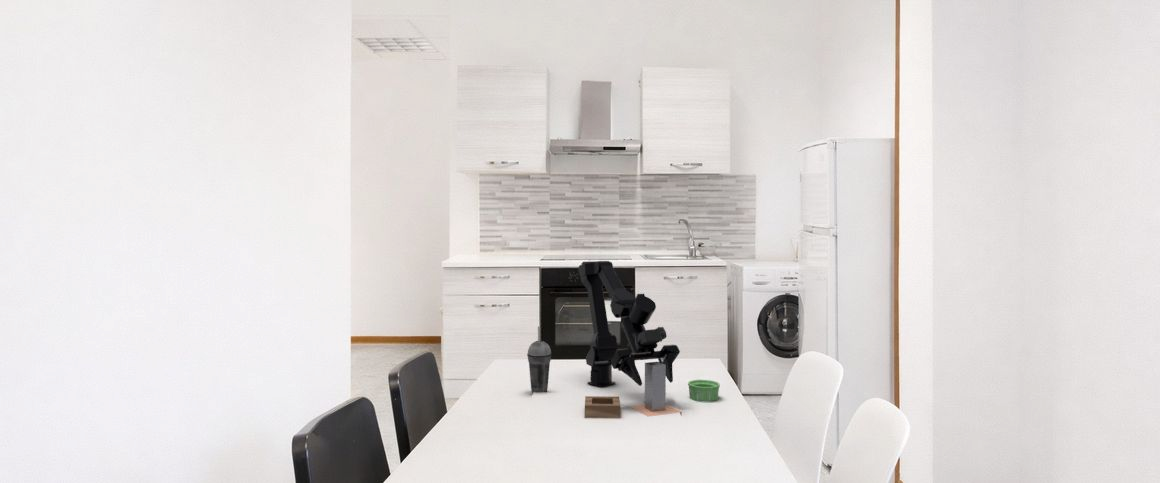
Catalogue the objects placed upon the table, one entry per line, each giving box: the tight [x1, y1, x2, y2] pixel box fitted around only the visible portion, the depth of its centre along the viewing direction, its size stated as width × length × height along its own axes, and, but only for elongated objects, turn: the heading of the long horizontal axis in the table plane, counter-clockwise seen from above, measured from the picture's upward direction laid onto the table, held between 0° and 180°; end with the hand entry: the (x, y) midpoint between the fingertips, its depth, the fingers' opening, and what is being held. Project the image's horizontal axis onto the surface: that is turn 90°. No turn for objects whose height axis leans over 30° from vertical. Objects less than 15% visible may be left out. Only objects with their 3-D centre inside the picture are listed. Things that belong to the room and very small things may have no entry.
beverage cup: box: [527, 326, 552, 395], centre depth 184 cm, size 7×7×20 cm
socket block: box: [584, 395, 621, 419], centre depth 161 cm, size 9×9×4 cm
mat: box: [629, 403, 683, 417], centre depth 165 cm, size 10×10×1 cm
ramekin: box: [687, 379, 721, 402], centre depth 179 cm, size 9×9×4 cm
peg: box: [644, 361, 667, 412], centre depth 165 cm, size 4×4×12 cm
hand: (656, 383), depth 164 cm, fingers open, 9 cm apart
